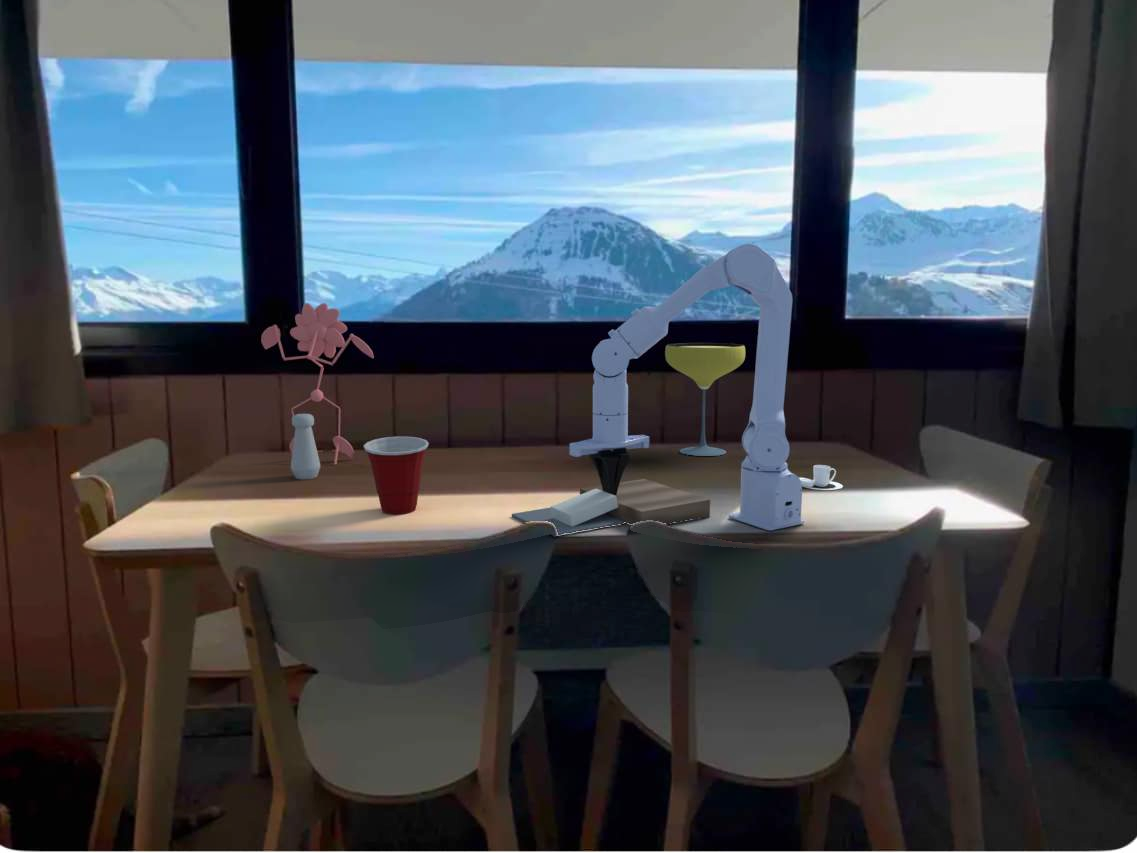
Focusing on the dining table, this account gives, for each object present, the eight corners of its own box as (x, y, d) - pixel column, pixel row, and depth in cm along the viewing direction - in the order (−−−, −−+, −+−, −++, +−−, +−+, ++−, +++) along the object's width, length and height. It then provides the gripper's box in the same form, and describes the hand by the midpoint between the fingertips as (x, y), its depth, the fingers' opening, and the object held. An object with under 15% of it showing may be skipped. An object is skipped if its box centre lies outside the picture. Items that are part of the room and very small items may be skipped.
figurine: (371, 466, 174) (364, 303, 169) (257, 464, 177) (246, 303, 171) (393, 452, 189) (387, 302, 184) (288, 451, 192) (278, 303, 186)
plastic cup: (364, 520, 132) (360, 449, 130) (368, 504, 143) (365, 437, 141) (430, 517, 134) (428, 446, 132) (430, 501, 144) (428, 435, 143)
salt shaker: (286, 477, 164) (281, 414, 162) (311, 472, 168) (308, 411, 166) (300, 481, 160) (296, 417, 158) (326, 477, 164) (322, 414, 162)
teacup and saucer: (793, 490, 153) (794, 469, 152) (796, 481, 160) (797, 461, 160) (842, 493, 150) (843, 472, 149) (843, 484, 157) (844, 464, 157)
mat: (624, 524, 129) (624, 521, 129) (554, 537, 122) (554, 534, 122) (577, 505, 141) (577, 503, 141) (511, 516, 134) (511, 513, 134)
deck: (709, 517, 133) (710, 499, 133) (641, 530, 126) (642, 511, 125) (644, 494, 148) (644, 478, 148) (580, 505, 141) (579, 488, 141)
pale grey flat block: (597, 499, 135) (595, 488, 135) (618, 507, 130) (616, 496, 130) (552, 517, 131) (550, 506, 131) (572, 526, 126) (569, 515, 126)
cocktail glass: (648, 453, 187) (649, 345, 183) (690, 442, 201) (692, 342, 197) (716, 463, 175) (719, 348, 171) (756, 451, 189) (760, 344, 185)
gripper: (631, 407, 138) (631, 484, 140) (559, 413, 130) (559, 495, 133) (657, 411, 132) (656, 492, 134) (582, 419, 124) (583, 504, 127)
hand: (610, 494), depth 133 cm, fingers closed
